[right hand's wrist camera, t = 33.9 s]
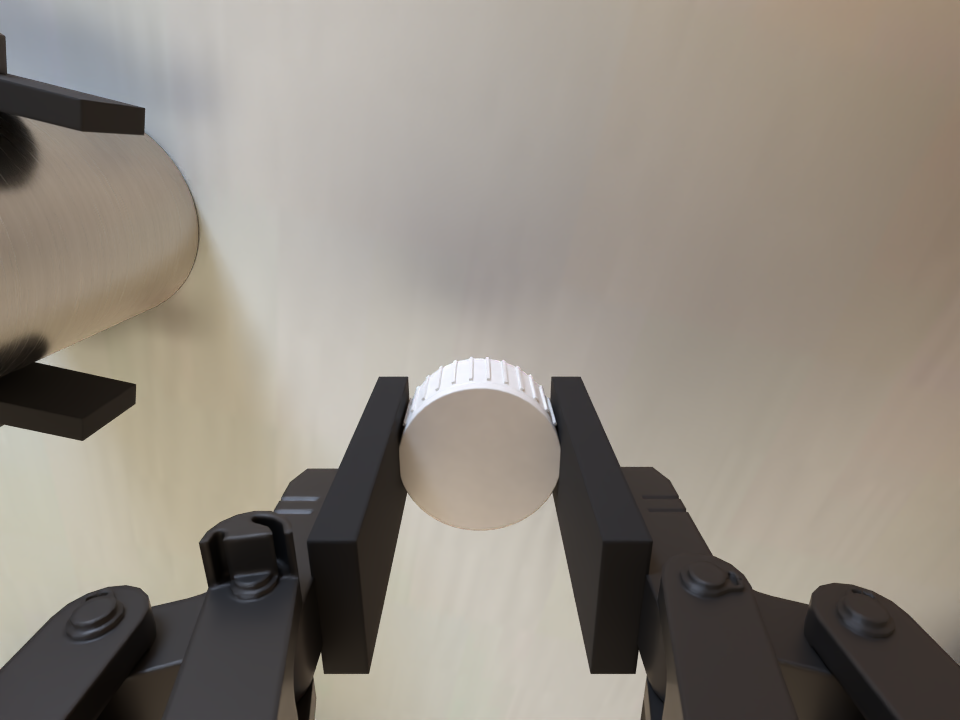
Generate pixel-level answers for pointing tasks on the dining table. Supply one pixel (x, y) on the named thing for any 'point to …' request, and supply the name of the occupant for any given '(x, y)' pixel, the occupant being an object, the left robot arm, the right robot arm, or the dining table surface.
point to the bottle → (84, 234)
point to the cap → (479, 445)
